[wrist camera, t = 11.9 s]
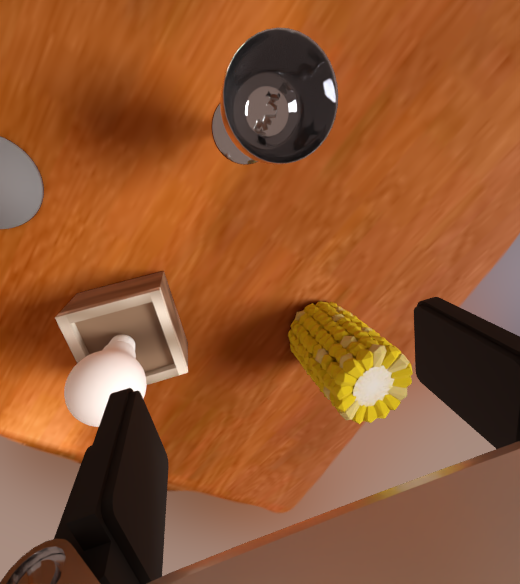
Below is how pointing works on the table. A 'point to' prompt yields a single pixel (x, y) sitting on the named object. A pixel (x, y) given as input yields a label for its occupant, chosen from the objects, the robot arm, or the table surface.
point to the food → (349, 362)
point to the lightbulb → (103, 379)
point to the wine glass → (275, 99)
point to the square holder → (129, 324)
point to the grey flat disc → (18, 186)
